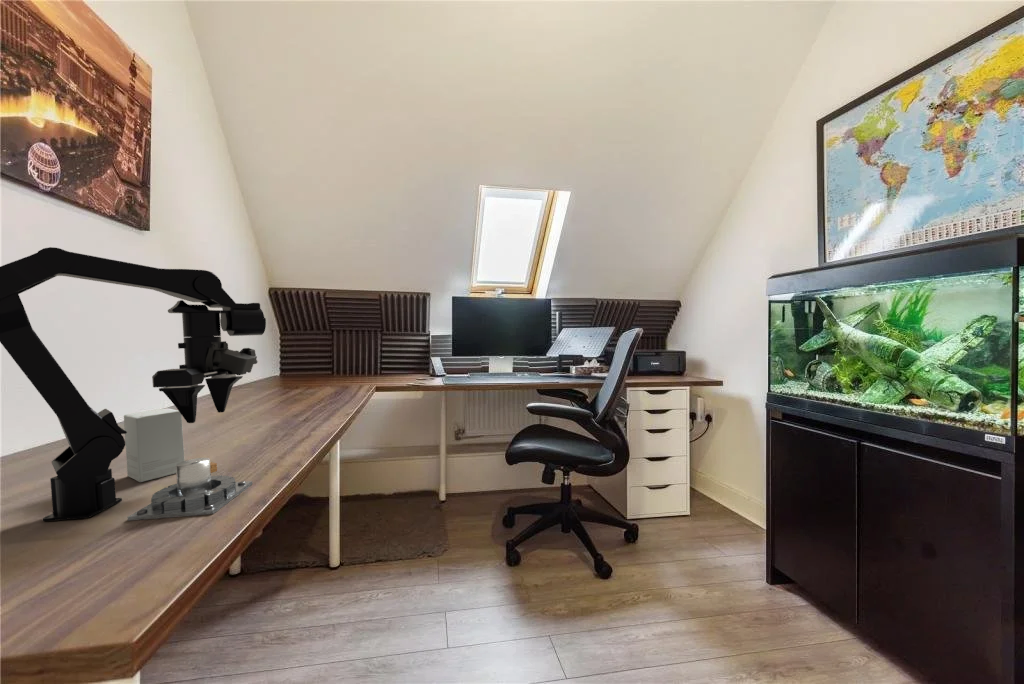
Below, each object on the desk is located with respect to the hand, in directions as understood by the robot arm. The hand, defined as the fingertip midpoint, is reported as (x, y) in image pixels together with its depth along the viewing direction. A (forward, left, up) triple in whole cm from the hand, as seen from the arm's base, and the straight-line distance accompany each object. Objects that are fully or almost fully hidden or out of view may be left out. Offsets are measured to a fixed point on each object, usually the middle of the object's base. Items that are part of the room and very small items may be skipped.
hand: (207, 417), depth 78 cm
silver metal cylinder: (+4, -11, -11) cm, 16 cm away
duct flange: (+4, -11, -12) cm, 17 cm away
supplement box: (-13, +5, -12) cm, 19 cm away
